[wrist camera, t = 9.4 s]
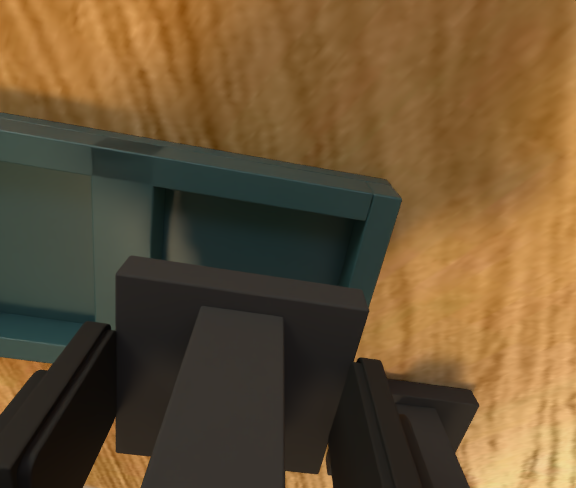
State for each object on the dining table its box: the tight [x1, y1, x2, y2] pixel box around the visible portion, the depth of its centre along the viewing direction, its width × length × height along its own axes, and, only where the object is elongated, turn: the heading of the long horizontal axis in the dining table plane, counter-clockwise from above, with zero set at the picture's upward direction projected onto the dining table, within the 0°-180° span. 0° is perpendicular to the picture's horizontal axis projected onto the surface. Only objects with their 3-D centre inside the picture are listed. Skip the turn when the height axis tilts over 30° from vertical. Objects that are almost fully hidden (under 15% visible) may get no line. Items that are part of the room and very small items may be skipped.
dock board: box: [0, 112, 402, 364], centre depth 15 cm, size 18×9×2 cm, turn 80°
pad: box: [326, 379, 479, 488], centre depth 18 cm, size 6×6×6 cm
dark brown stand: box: [115, 255, 369, 488], centre depth 9 cm, size 6×6×6 cm
